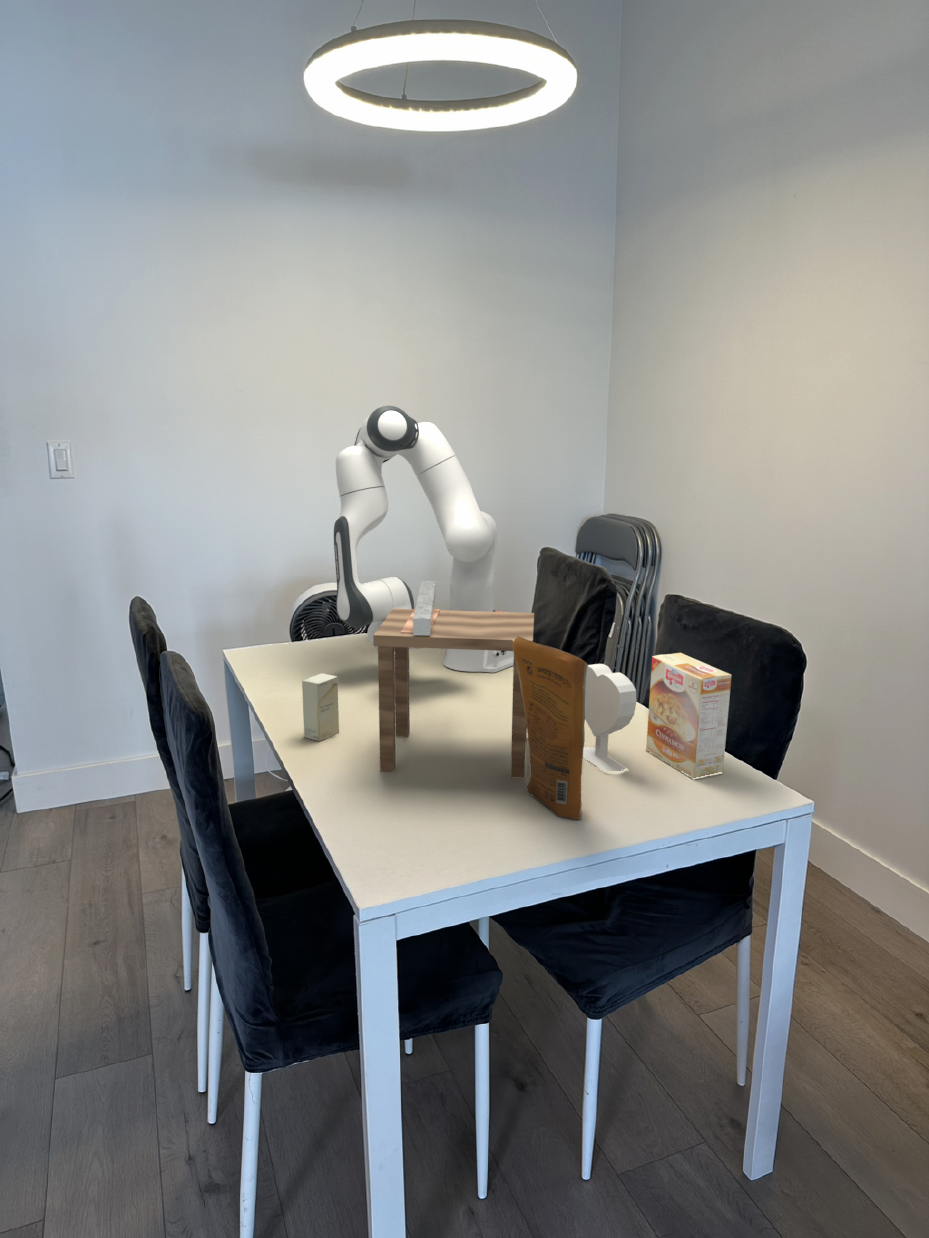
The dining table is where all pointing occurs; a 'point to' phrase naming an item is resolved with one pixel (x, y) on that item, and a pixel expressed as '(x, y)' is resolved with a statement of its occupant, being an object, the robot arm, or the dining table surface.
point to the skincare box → (320, 706)
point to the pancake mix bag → (553, 723)
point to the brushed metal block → (424, 608)
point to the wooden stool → (445, 634)
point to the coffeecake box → (688, 714)
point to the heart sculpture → (606, 711)
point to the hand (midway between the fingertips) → (447, 625)
